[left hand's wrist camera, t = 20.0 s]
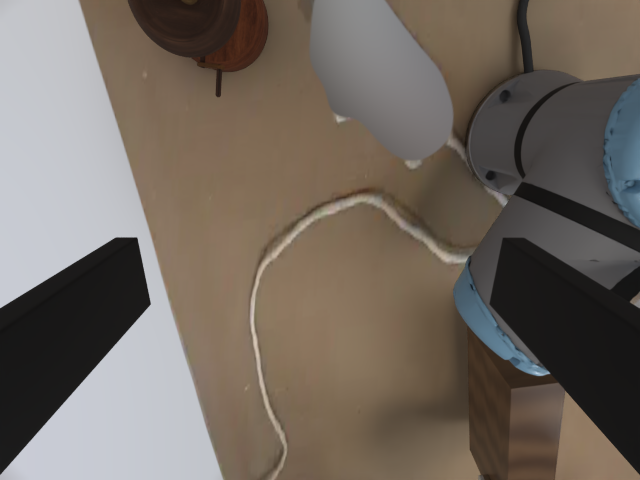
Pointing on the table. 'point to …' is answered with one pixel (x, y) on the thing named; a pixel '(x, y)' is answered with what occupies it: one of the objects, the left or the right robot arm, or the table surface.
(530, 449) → the box
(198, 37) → the music box
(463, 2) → the table surface
